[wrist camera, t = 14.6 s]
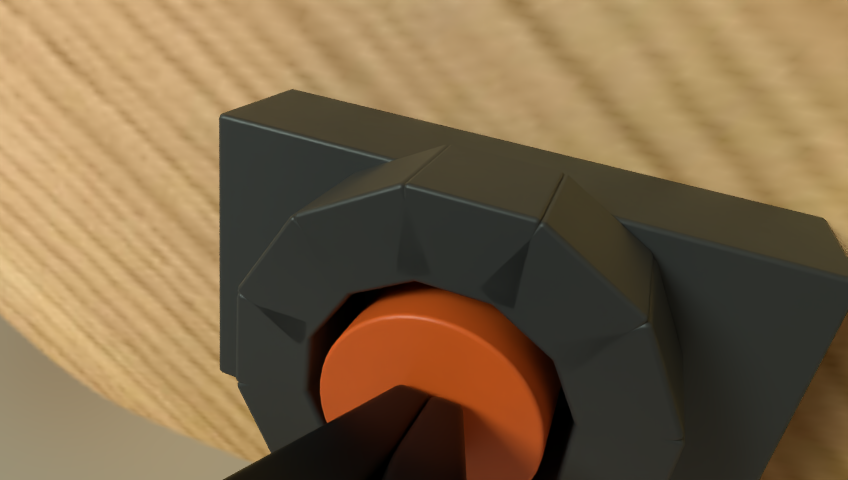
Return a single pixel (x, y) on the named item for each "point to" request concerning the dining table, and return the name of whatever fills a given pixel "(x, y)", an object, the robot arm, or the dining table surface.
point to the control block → (525, 282)
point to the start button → (450, 372)
